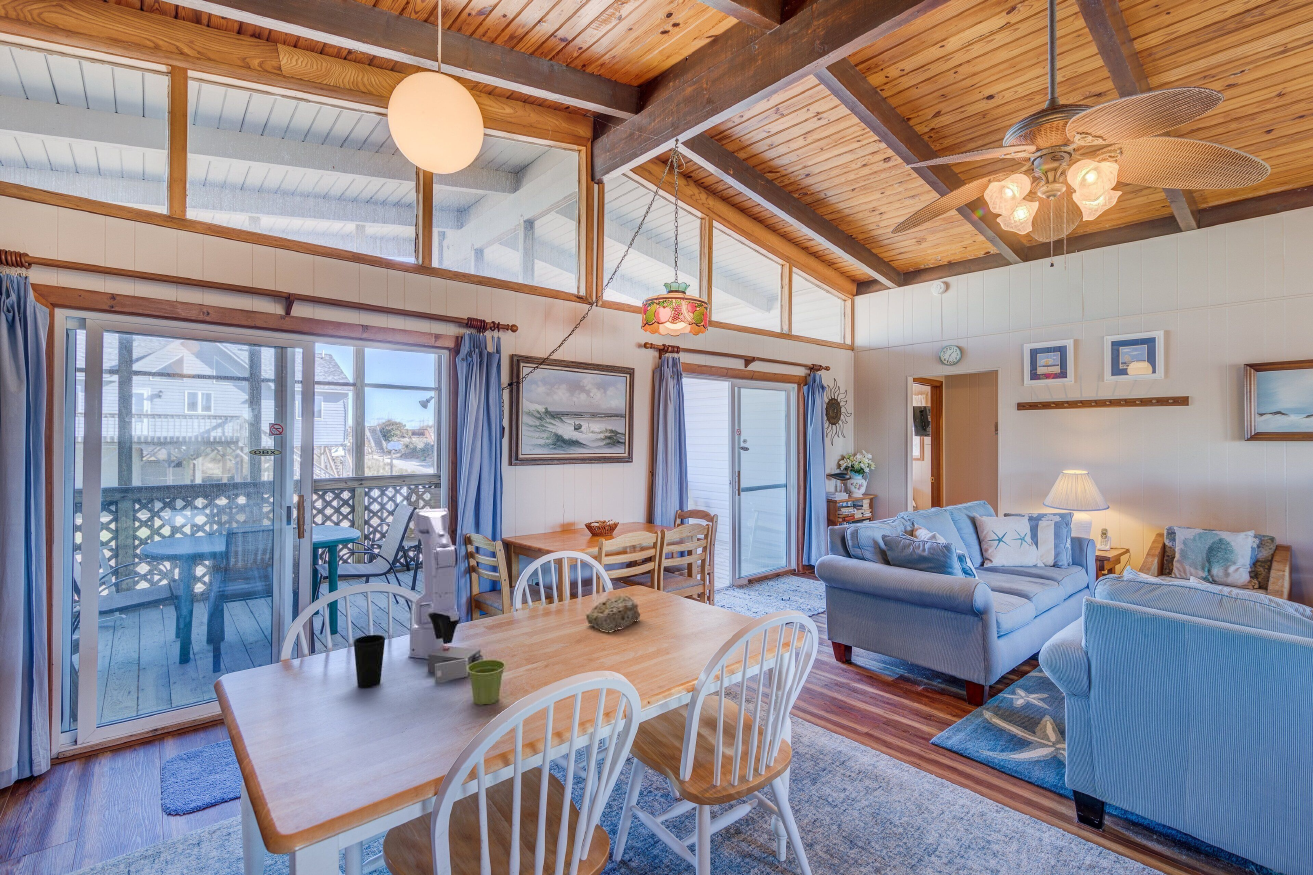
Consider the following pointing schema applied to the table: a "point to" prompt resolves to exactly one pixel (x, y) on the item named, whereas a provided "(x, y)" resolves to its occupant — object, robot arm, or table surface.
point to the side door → (451, 670)
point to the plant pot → (486, 680)
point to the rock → (614, 613)
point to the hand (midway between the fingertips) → (443, 640)
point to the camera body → (452, 656)
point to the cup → (369, 660)
